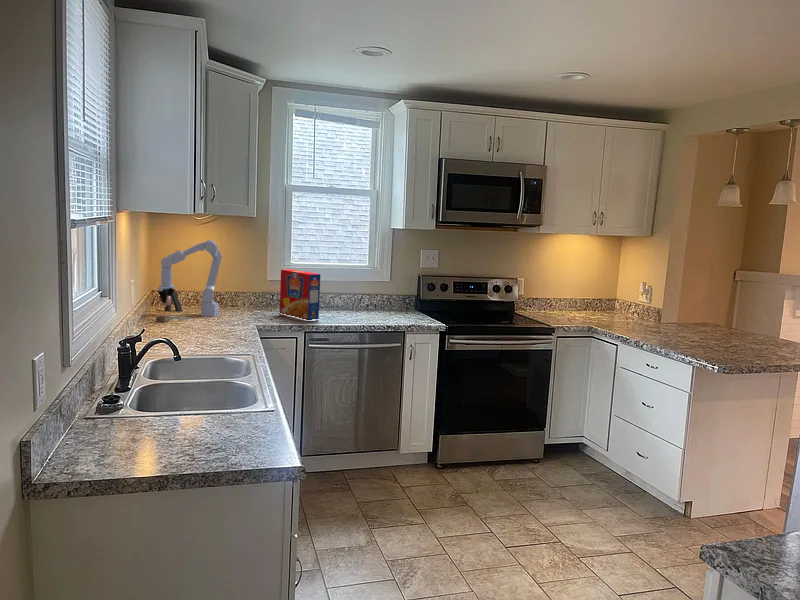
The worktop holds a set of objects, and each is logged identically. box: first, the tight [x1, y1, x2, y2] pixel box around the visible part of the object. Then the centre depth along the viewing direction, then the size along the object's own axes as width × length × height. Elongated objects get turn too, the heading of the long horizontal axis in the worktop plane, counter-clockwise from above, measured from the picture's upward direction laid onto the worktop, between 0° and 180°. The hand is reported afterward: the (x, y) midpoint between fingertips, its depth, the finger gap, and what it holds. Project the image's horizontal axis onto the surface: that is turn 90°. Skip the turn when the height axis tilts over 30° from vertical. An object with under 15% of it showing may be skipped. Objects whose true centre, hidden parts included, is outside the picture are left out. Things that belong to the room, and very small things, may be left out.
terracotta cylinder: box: [161, 296, 171, 307], centre depth 340 cm, size 5×5×5 cm
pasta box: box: [279, 269, 321, 320], centre depth 362 cm, size 28×8×28 cm, turn 47°
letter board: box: [165, 314, 193, 322], centre depth 334 cm, size 16×12×1 cm
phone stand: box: [164, 290, 183, 313], centre depth 358 cm, size 9×6×12 cm, turn 90°
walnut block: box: [155, 314, 171, 323], centre depth 322 cm, size 5×5×4 cm
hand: (166, 302), depth 340 cm, fingers closed on terracotta cylinder, 5 cm apart
